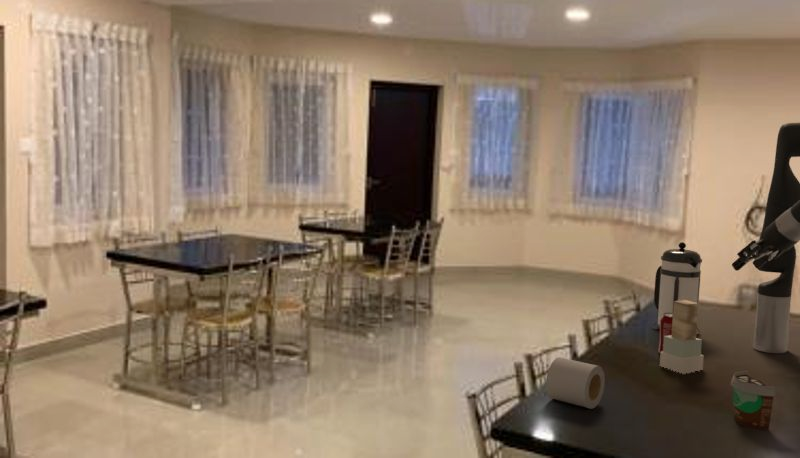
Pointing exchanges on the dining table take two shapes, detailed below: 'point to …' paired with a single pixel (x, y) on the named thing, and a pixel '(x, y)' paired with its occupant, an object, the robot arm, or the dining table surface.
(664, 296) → the coffee press
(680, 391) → the dining table surface
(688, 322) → the beech pillar
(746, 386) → the food container
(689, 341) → the tower top
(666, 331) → the soda can
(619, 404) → the dining table surface
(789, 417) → the dining table surface
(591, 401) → the toilet paper
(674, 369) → the tower base
